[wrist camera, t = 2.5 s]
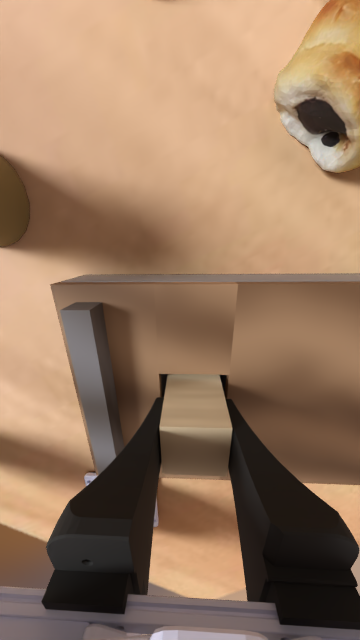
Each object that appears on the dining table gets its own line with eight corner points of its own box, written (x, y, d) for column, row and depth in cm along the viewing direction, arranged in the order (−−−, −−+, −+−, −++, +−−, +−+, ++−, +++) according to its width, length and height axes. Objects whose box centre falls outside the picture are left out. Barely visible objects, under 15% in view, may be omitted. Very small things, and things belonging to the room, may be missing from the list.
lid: (360, 474, 16) (386, 509, 14) (100, 465, 17) (87, 496, 15) (452, 280, 11) (518, 289, 9) (59, 282, 12) (29, 290, 9)
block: (212, 388, 17) (227, 476, 11) (172, 387, 17) (162, 474, 11) (214, 353, 16) (232, 428, 9) (171, 352, 16) (159, 426, 9)
